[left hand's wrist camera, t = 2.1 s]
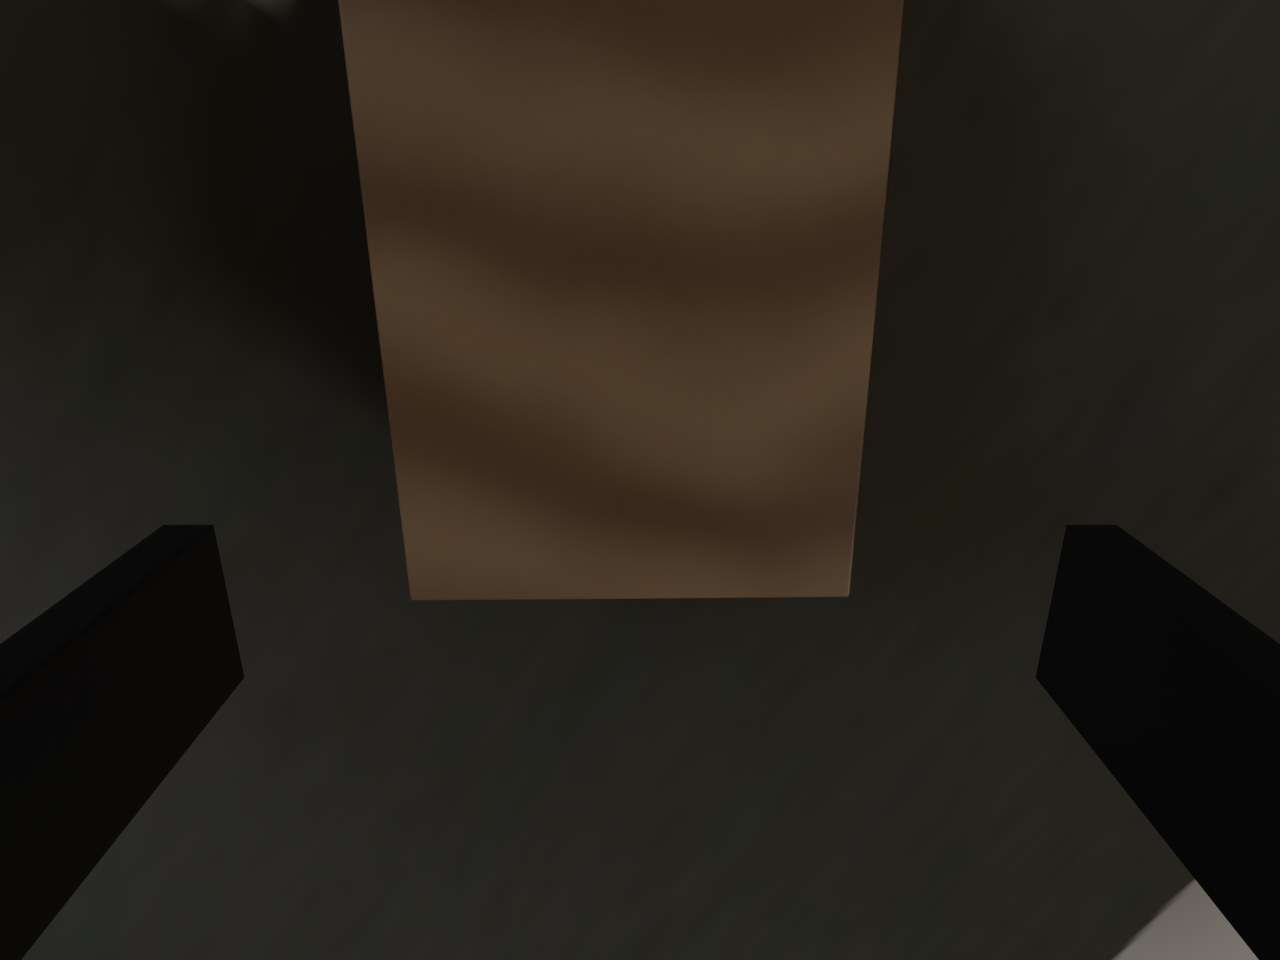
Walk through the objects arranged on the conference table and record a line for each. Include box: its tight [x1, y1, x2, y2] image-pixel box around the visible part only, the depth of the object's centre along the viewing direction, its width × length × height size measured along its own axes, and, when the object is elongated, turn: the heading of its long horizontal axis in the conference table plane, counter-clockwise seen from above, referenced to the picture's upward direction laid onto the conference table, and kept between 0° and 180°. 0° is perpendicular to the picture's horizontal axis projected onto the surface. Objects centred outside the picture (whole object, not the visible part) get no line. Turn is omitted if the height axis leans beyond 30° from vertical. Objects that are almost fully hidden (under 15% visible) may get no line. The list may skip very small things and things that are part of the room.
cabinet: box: [338, 0, 904, 601], centre depth 22 cm, size 18×11×9 cm, turn 0°
